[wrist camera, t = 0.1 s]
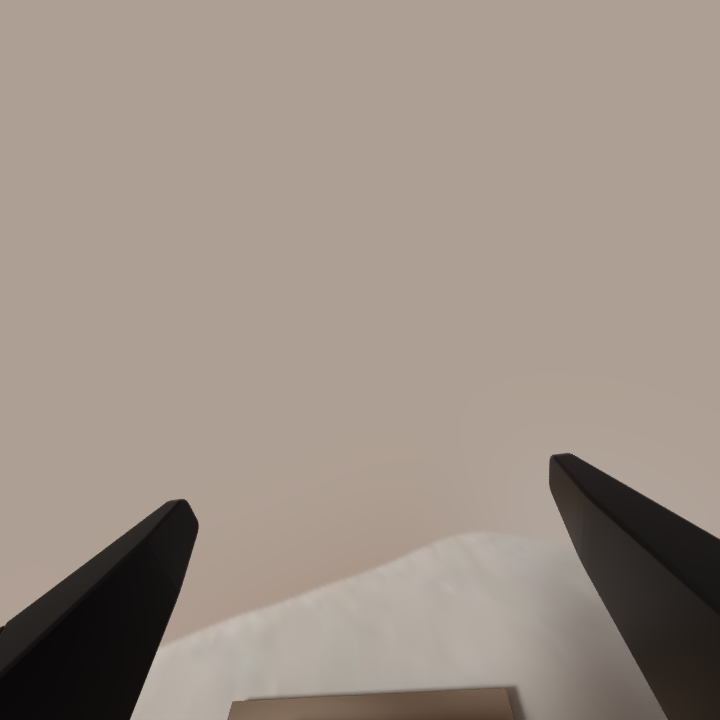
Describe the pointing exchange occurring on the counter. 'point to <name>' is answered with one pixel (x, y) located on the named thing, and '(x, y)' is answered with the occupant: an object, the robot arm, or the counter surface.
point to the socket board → (382, 707)
